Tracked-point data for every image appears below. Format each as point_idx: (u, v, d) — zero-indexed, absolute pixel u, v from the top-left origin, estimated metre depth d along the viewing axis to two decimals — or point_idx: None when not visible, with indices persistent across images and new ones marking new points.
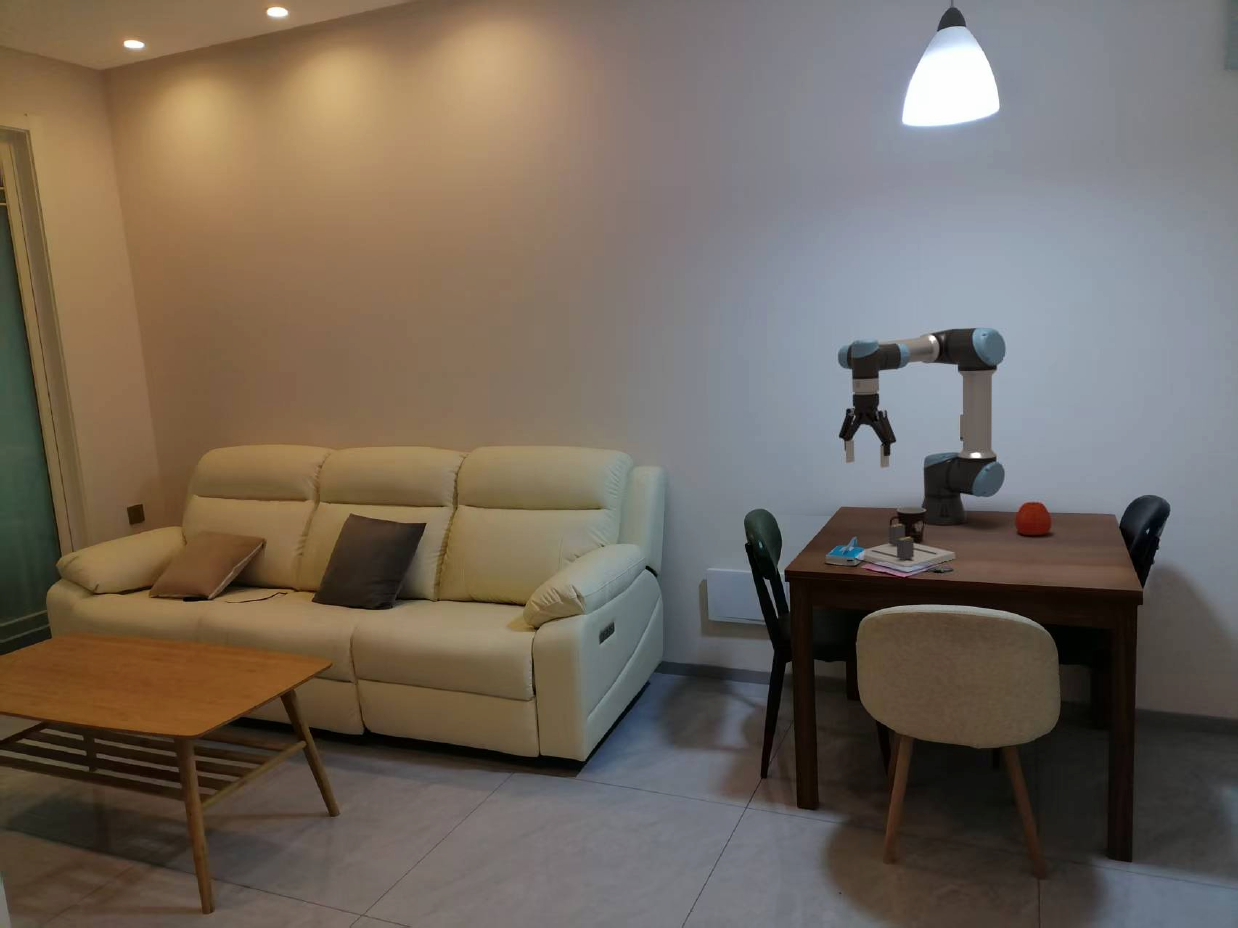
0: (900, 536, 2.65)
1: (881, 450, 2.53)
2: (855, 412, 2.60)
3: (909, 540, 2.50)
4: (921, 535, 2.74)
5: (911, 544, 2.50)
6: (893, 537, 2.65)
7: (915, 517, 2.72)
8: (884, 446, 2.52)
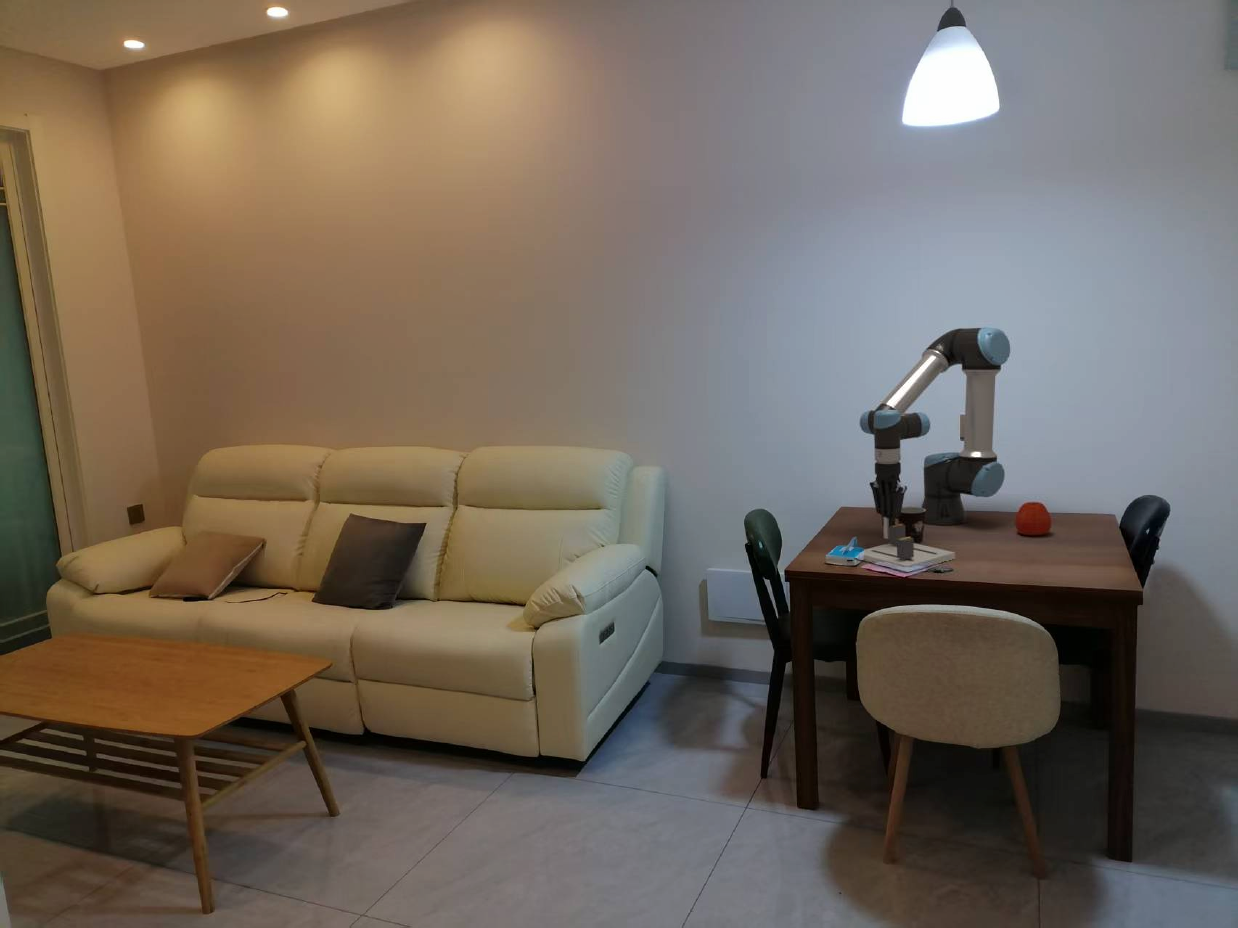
0: (900, 536, 2.65)
1: (886, 522, 2.67)
2: (877, 479, 2.68)
3: (909, 540, 2.50)
4: (921, 535, 2.74)
5: (911, 544, 2.50)
6: (894, 537, 2.64)
7: (915, 517, 2.72)
8: (889, 518, 2.67)
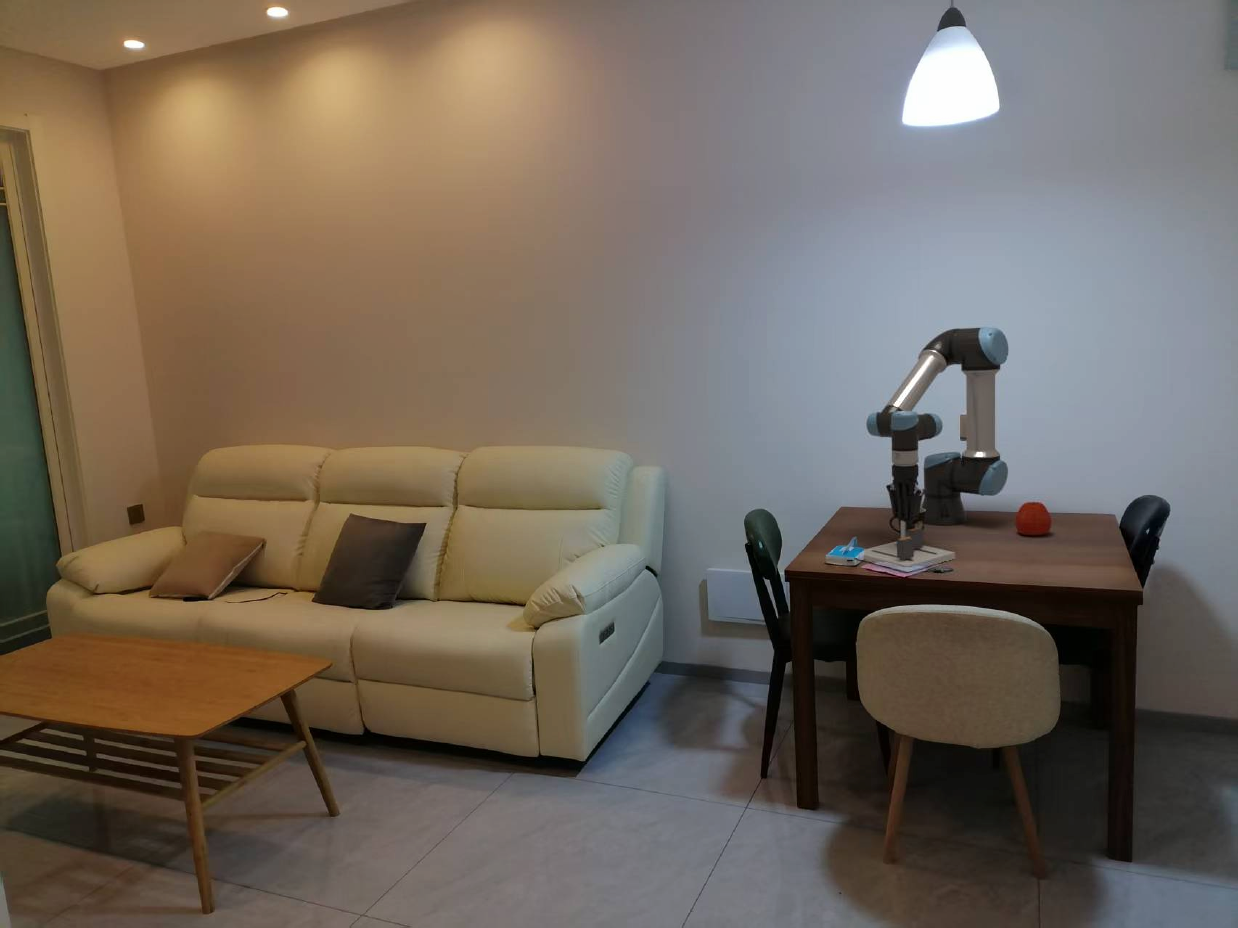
0: (918, 540, 2.59)
1: (903, 526, 2.61)
2: (894, 482, 2.62)
3: (909, 540, 2.50)
4: None
5: (911, 544, 2.50)
6: None
7: None
8: (906, 522, 2.61)
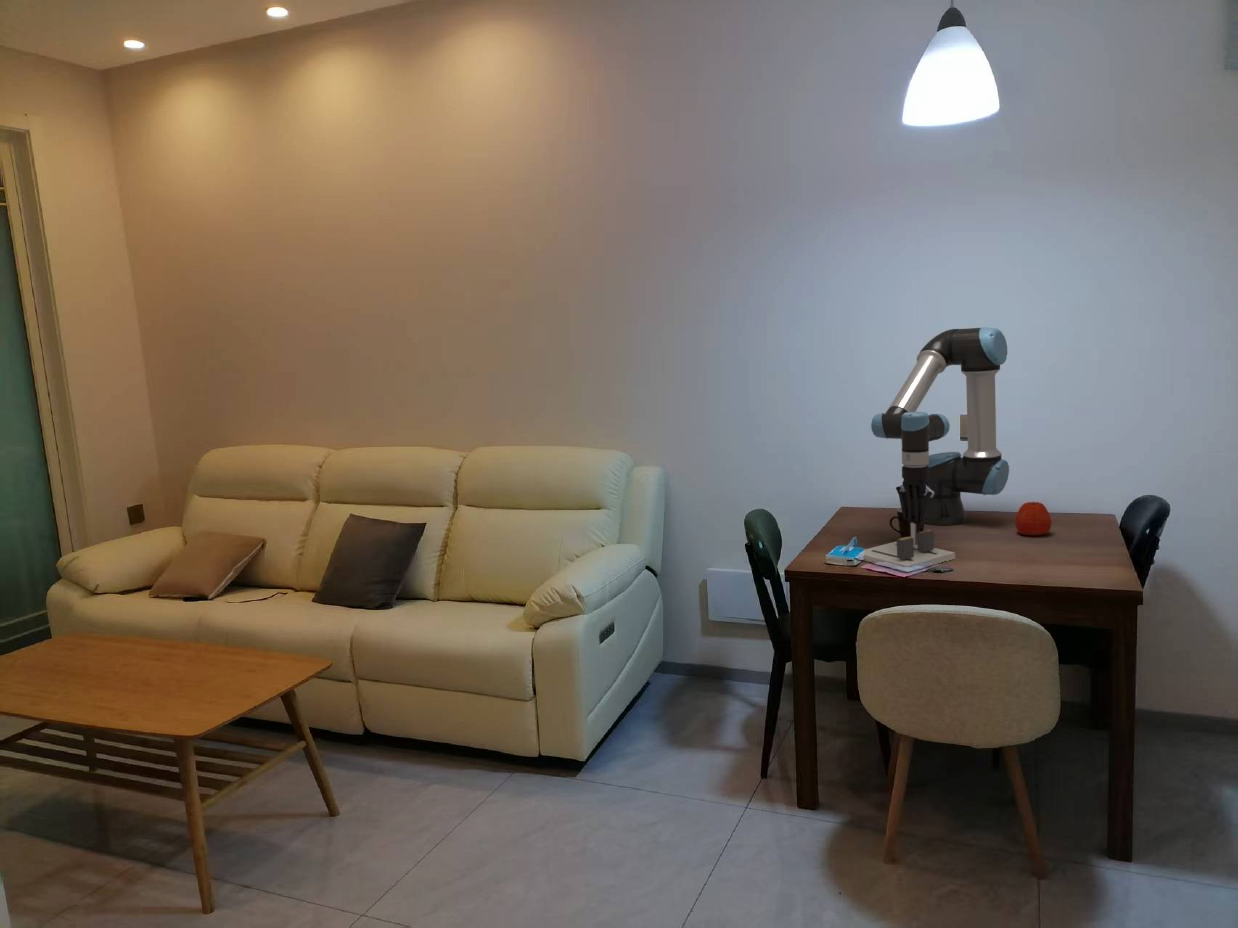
0: (929, 542, 2.56)
1: (914, 528, 2.58)
2: (904, 484, 2.59)
3: (909, 540, 2.50)
4: None
5: (911, 544, 2.50)
6: (922, 543, 2.55)
7: None
8: (917, 524, 2.58)
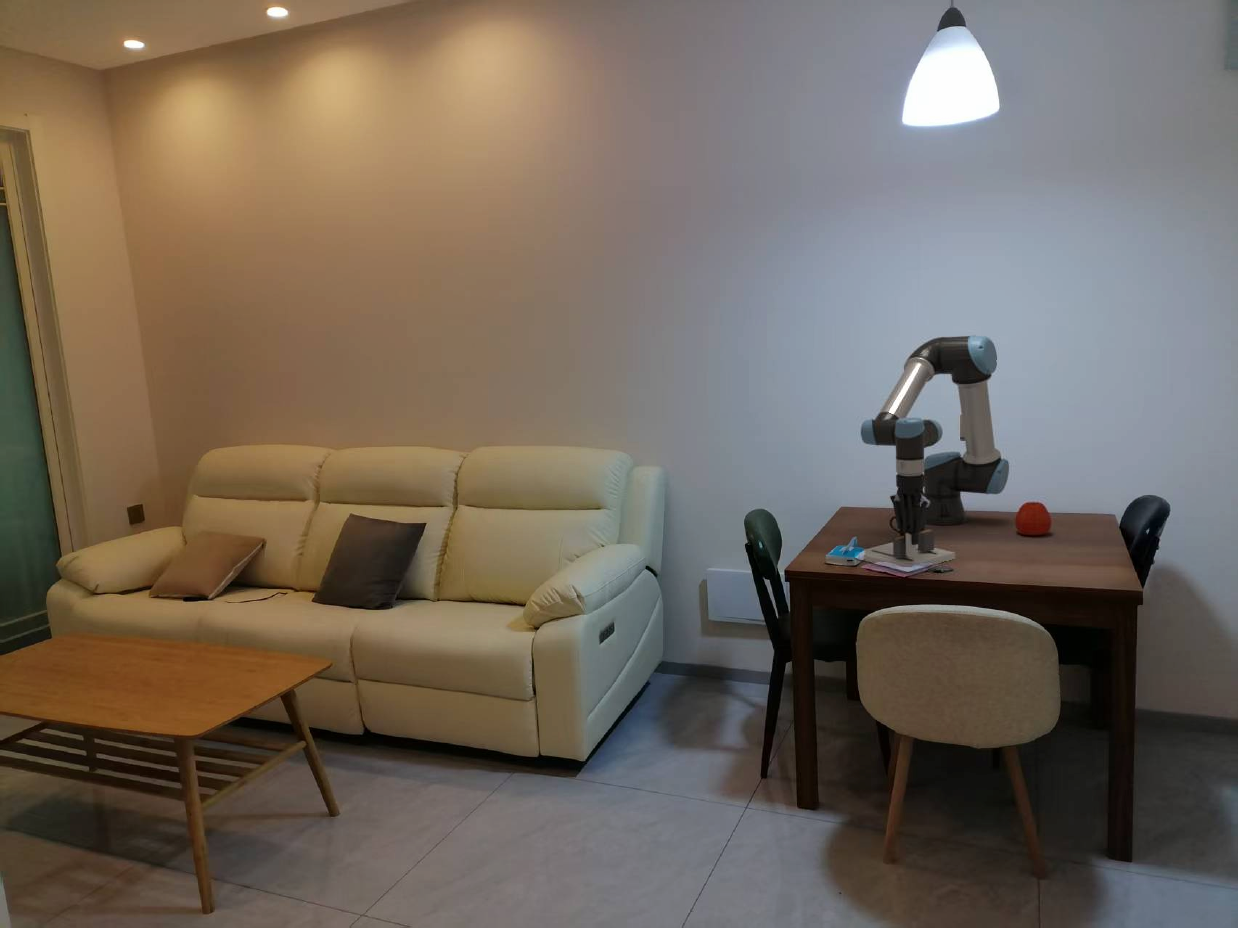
0: (929, 543, 2.56)
1: (909, 539, 2.48)
2: (899, 493, 2.49)
3: None
4: None
5: None
6: (922, 543, 2.55)
7: None
8: (912, 535, 2.47)
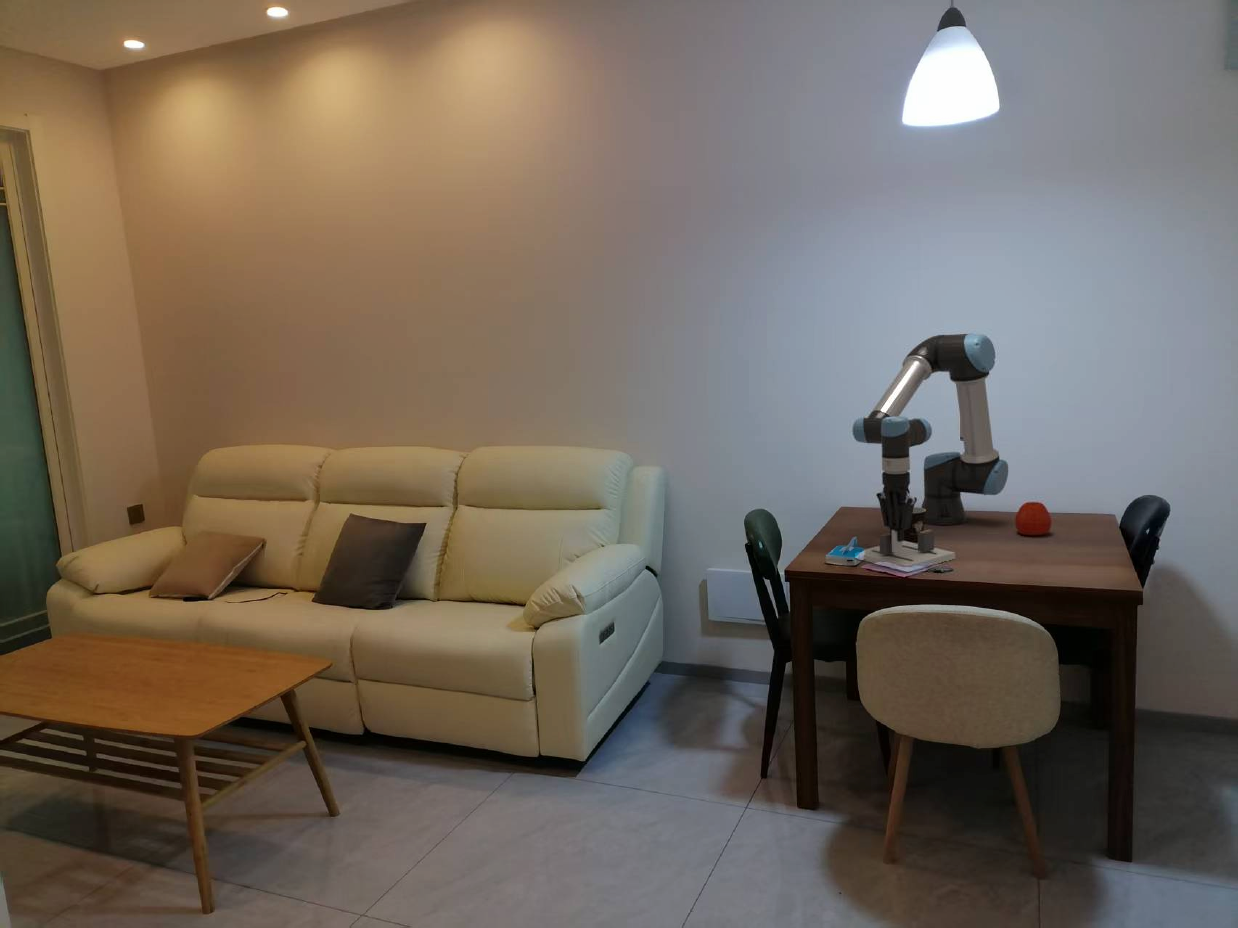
0: (929, 543, 2.56)
1: (894, 535, 2.52)
2: (885, 490, 2.53)
3: None
4: None
5: None
6: (922, 543, 2.55)
7: (915, 517, 2.72)
8: (897, 532, 2.52)
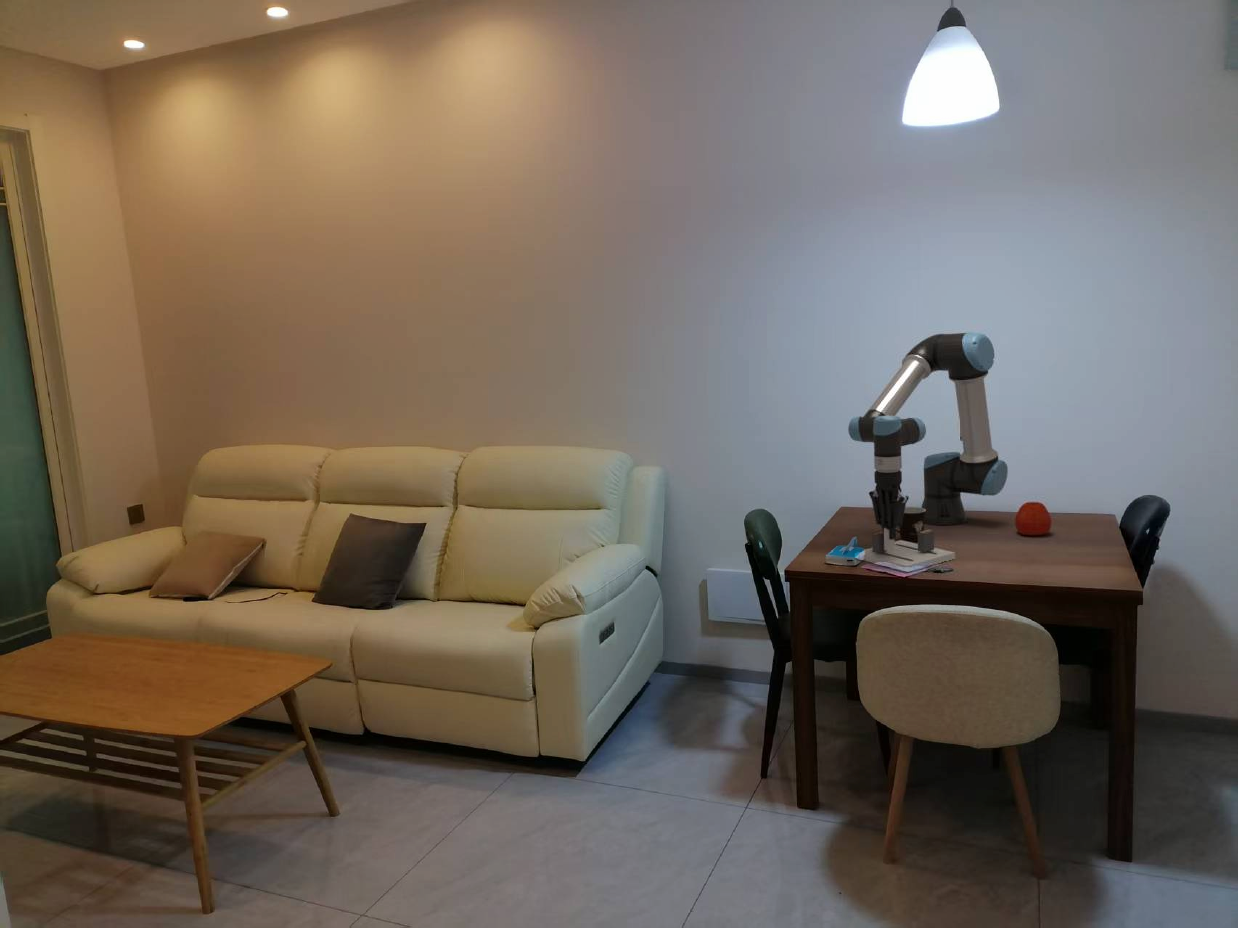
0: (929, 543, 2.56)
1: (887, 533, 2.54)
2: (877, 489, 2.55)
3: None
4: None
5: None
6: (922, 543, 2.55)
7: (915, 517, 2.72)
8: (890, 530, 2.54)
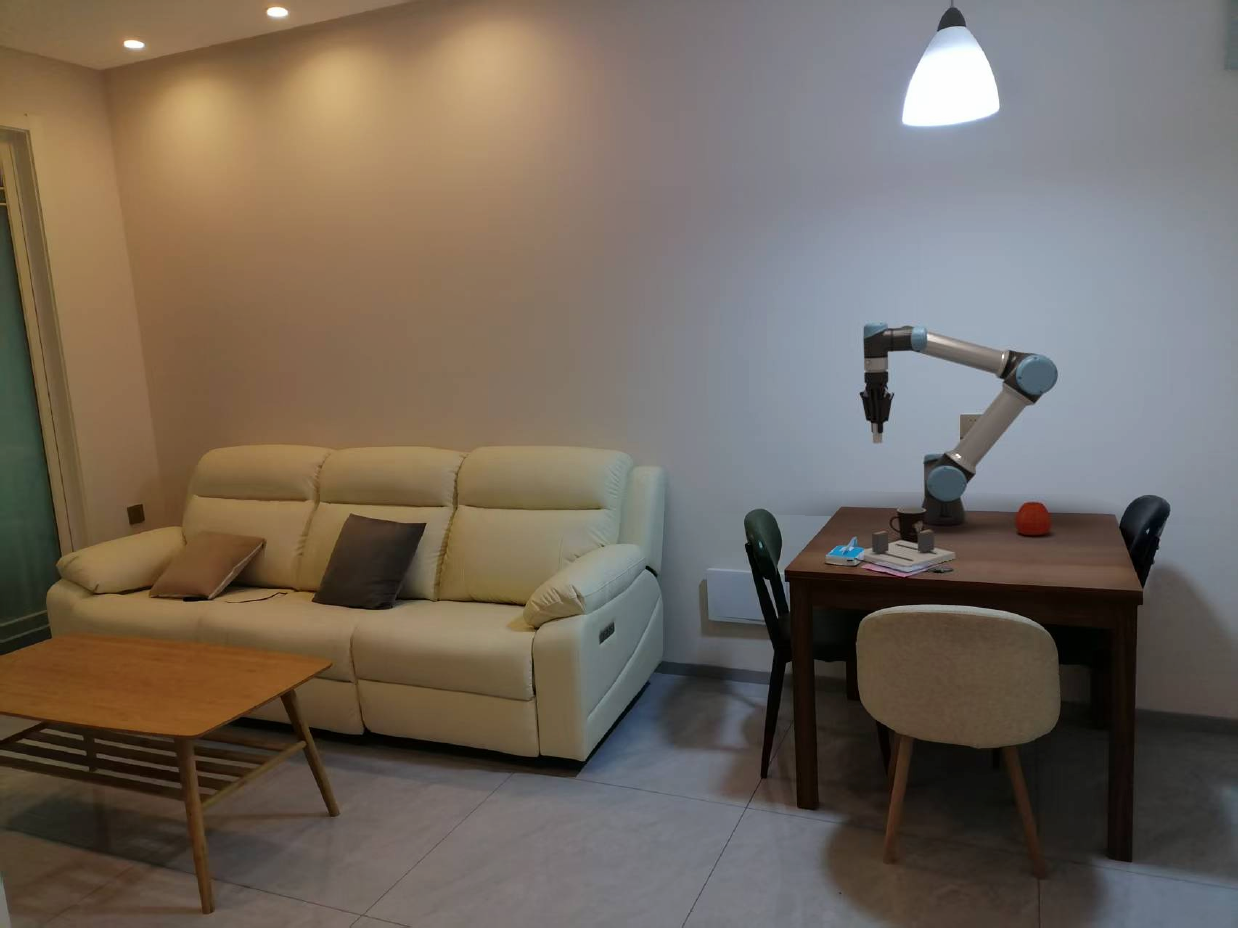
0: (929, 543, 2.56)
1: (875, 428, 2.87)
2: (866, 389, 2.88)
3: (884, 534, 2.58)
4: None
5: (885, 538, 2.58)
6: (922, 543, 2.55)
7: (915, 517, 2.72)
8: (878, 424, 2.87)
